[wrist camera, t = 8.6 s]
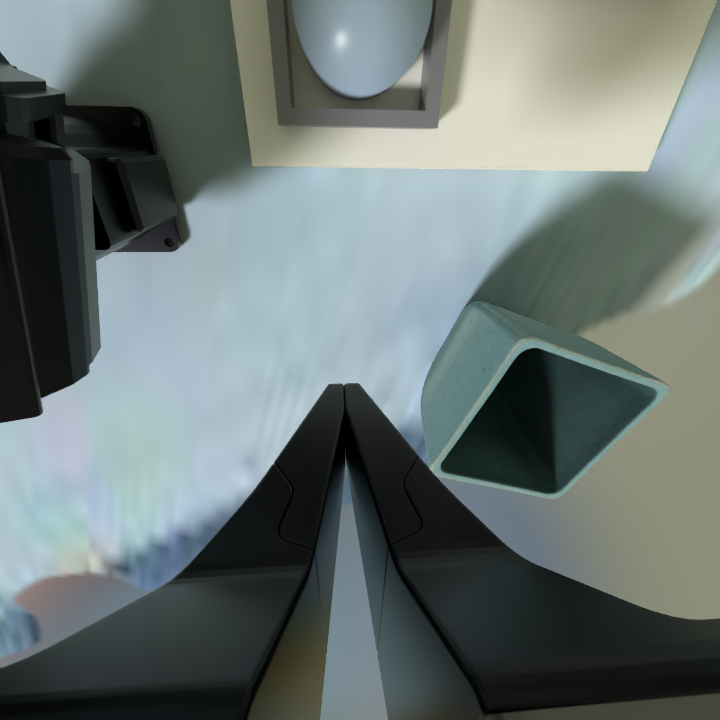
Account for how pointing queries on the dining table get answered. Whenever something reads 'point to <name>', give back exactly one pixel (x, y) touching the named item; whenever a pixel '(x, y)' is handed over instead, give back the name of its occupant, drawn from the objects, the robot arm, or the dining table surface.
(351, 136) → the button panel
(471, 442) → the flower pot
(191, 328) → the dining table surface
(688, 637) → the robot arm
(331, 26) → the slate button
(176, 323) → the dining table surface
